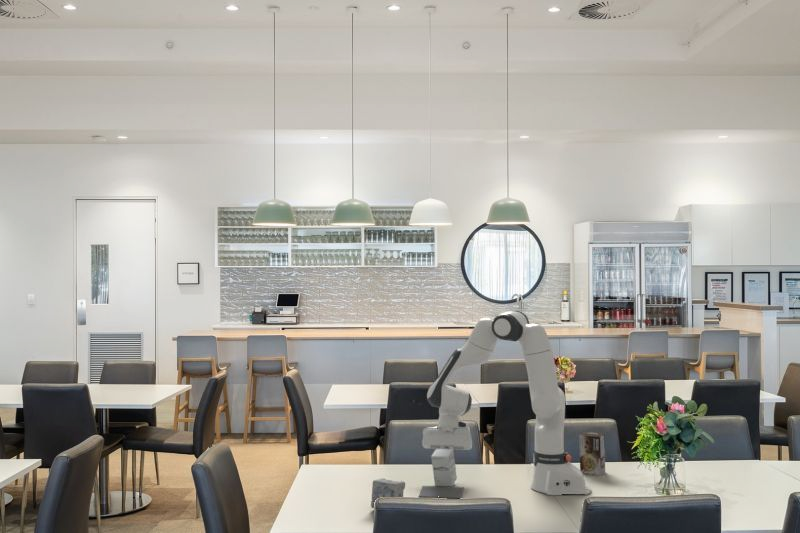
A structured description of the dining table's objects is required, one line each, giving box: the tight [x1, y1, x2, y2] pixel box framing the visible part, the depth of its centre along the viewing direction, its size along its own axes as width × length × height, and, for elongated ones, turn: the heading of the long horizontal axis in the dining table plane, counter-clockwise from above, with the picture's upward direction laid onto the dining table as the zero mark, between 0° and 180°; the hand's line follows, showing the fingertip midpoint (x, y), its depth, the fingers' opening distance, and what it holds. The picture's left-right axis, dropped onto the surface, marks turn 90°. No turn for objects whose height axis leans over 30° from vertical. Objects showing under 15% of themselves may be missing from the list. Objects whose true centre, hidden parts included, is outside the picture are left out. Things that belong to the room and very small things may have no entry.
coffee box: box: [578, 431, 606, 476], centre depth 295 cm, size 9×6×16 cm
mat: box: [418, 485, 464, 499], centre depth 269 cm, size 16×13×1 cm
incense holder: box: [370, 477, 406, 509], centre depth 251 cm, size 10×8×10 cm
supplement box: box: [430, 449, 458, 487], centre depth 279 cm, size 7×7×13 cm
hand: (446, 457), depth 282 cm, fingers closed
